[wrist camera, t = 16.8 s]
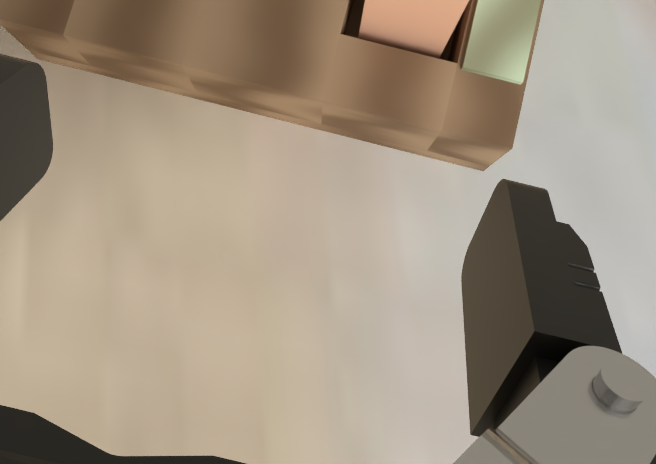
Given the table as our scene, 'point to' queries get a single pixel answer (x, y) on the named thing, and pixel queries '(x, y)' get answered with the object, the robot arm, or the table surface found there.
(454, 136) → the slot holder
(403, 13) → the peg
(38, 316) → the table surface
